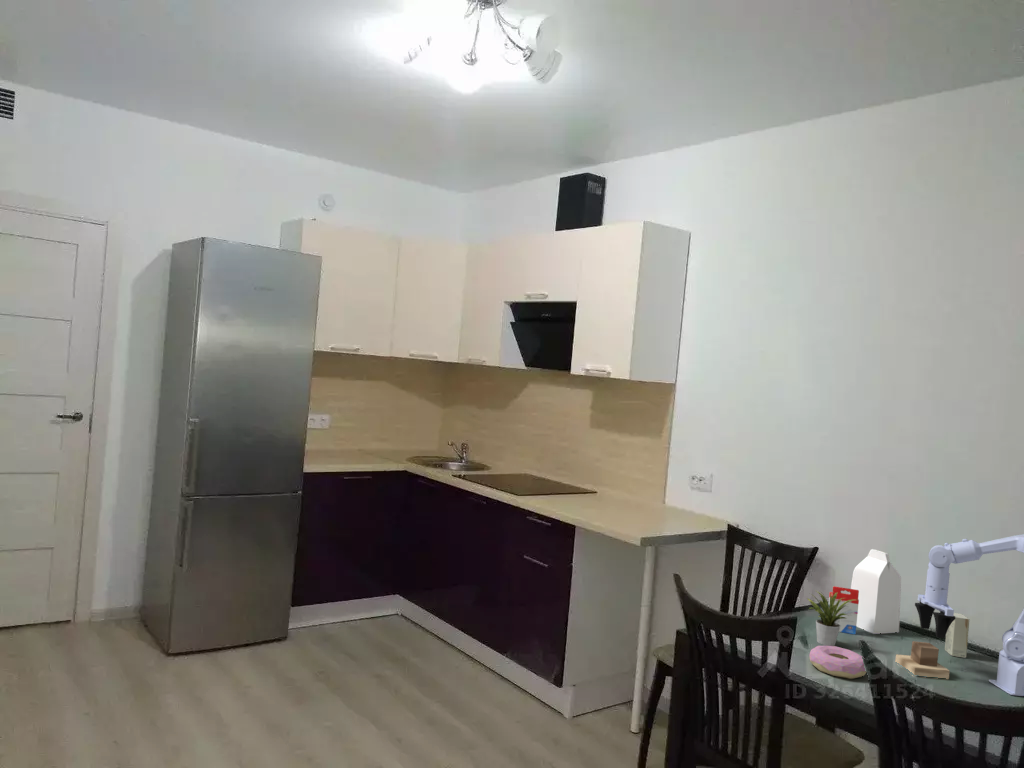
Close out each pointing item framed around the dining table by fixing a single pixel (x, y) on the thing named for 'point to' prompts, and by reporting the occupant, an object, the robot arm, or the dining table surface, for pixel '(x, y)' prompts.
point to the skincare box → (957, 636)
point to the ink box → (847, 609)
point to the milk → (877, 593)
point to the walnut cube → (924, 653)
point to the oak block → (922, 667)
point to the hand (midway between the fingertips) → (932, 632)
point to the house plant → (828, 619)
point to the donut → (837, 661)
